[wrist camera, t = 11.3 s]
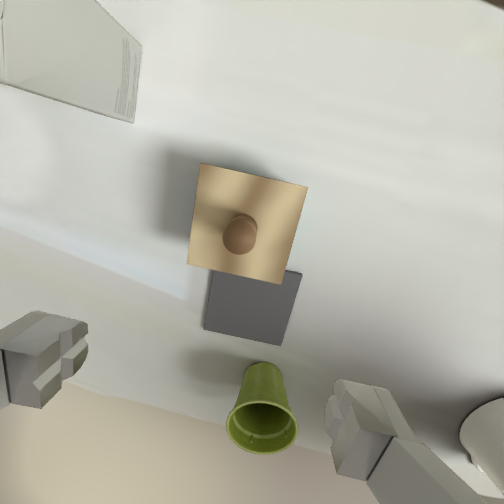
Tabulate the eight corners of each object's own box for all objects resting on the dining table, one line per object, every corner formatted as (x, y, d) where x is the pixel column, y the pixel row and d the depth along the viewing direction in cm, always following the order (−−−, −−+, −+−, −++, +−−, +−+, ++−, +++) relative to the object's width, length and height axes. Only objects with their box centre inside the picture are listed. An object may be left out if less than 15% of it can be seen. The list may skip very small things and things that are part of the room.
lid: (306, 186, 25) (317, 190, 20) (280, 280, 28) (283, 304, 23) (202, 163, 25) (186, 161, 20) (189, 260, 28) (172, 280, 23)
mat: (301, 273, 33) (302, 275, 33) (280, 343, 37) (280, 346, 37) (217, 255, 33) (216, 256, 33) (204, 327, 37) (203, 329, 36)
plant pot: (226, 387, 41) (216, 442, 32) (245, 344, 38) (239, 392, 30) (278, 404, 41) (281, 462, 33) (300, 363, 38) (310, 415, 30)
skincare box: (87, 26, 26) (-150, -167, 11) (147, 46, 26) (-7, -118, 11) (82, 111, 29) (-114, 46, 14) (137, 128, 29) (2, 82, 14)
